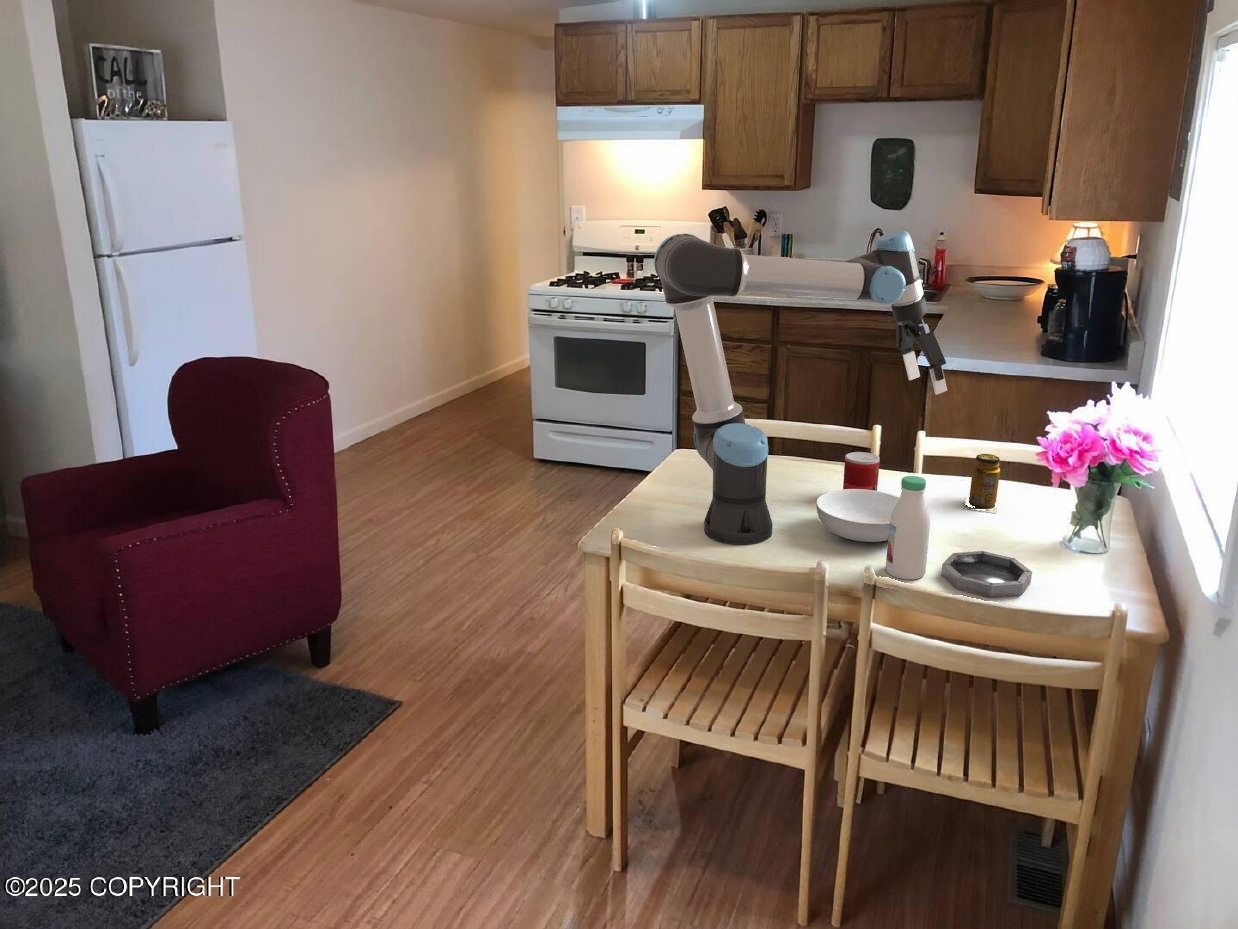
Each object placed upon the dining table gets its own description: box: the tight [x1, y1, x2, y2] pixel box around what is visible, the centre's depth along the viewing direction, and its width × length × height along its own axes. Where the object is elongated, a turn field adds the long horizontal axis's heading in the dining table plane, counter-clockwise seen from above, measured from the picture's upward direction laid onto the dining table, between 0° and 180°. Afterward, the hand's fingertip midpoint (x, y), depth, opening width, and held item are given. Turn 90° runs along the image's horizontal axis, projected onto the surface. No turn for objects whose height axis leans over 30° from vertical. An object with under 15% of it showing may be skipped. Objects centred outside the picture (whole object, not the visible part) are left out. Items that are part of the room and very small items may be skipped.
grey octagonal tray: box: [940, 550, 1033, 599], centre depth 189 cm, size 15×15×2 cm
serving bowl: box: [815, 489, 900, 543], centre depth 210 cm, size 21×21×7 cm
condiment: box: [963, 453, 1001, 514], centre depth 225 cm, size 7×8×12 cm
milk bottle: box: [885, 475, 931, 581], centre depth 189 cm, size 8×8×20 cm
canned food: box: [842, 451, 880, 491], centre depth 229 cm, size 8×8×11 cm
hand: (927, 385), depth 224 cm, fingers open, 13 cm apart
